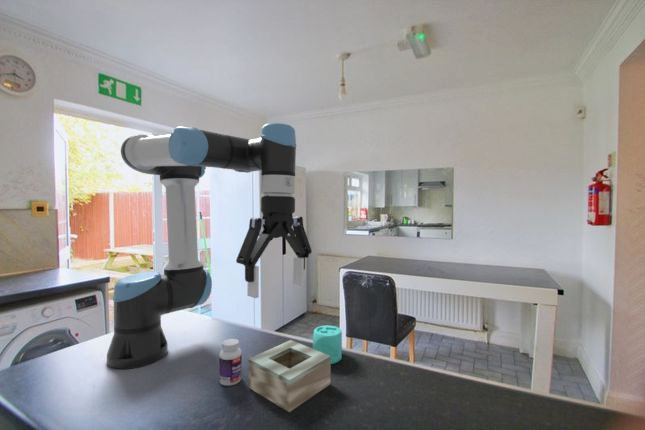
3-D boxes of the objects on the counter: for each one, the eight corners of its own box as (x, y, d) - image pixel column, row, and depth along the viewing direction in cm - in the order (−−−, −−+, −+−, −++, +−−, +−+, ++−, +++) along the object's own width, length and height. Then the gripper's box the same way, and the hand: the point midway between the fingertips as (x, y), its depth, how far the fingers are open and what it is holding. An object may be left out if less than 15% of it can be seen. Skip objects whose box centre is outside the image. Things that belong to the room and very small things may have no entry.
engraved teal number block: (341, 365, 86) (341, 336, 86) (312, 364, 87) (312, 335, 87) (341, 351, 94) (341, 325, 94) (314, 350, 95) (314, 324, 95)
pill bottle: (235, 387, 75) (235, 347, 75) (214, 385, 76) (214, 345, 76) (245, 375, 81) (245, 338, 80) (226, 373, 82) (226, 336, 81)
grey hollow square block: (248, 387, 75) (248, 358, 75) (290, 365, 86) (290, 339, 86) (289, 412, 66) (289, 380, 66) (330, 383, 77) (330, 355, 77)
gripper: (241, 193, 58) (241, 307, 59) (326, 197, 77) (325, 282, 78) (218, 193, 63) (218, 299, 63) (304, 197, 82) (303, 277, 83)
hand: (277, 290), depth 71 cm, fingers open, 13 cm apart
